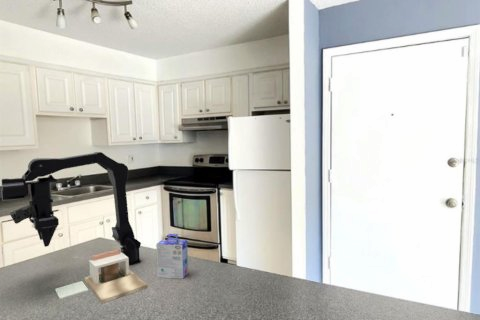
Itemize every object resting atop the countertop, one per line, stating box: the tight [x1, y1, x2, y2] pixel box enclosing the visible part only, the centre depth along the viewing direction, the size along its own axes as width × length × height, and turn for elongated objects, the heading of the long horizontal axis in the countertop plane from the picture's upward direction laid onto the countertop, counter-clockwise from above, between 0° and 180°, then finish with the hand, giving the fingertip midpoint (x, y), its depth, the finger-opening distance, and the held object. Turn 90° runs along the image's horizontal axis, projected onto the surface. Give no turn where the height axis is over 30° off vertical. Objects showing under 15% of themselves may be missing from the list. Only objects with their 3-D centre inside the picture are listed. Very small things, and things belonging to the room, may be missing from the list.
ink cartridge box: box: [155, 233, 189, 279], centre depth 109 cm, size 10×6×14 cm, turn 81°
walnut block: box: [100, 263, 119, 282], centre depth 107 cm, size 4×4×6 cm
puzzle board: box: [83, 267, 148, 304], centre depth 103 cm, size 14×20×1 cm
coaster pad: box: [54, 280, 89, 300], centre depth 99 cm, size 8×8×1 cm
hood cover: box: [88, 248, 130, 284], centre depth 107 cm, size 11×7×7 cm, turn 130°
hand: (44, 242), depth 102 cm, fingers open, 9 cm apart
